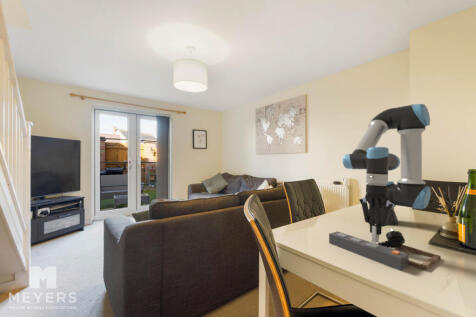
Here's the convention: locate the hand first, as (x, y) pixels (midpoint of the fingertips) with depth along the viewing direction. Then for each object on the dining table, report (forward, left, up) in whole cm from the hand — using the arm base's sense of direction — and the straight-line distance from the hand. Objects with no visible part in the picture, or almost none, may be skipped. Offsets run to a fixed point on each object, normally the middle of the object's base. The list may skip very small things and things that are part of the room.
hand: (375, 241), depth 85 cm
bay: (-1, +11, -2) cm, 11 cm away
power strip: (+9, +1, -2) cm, 10 cm away
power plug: (-1, -3, 0) cm, 3 cm away
